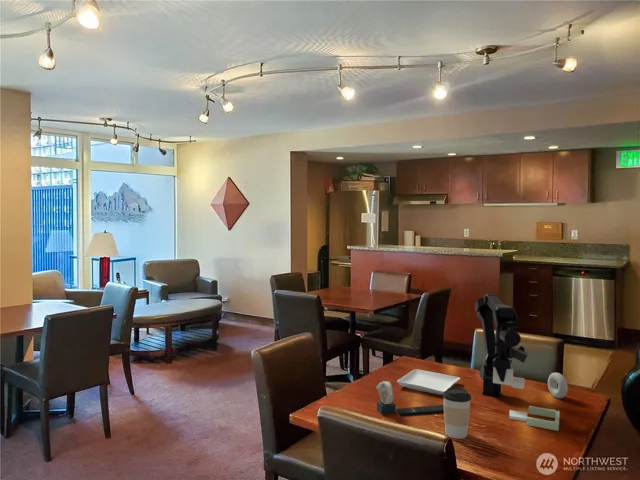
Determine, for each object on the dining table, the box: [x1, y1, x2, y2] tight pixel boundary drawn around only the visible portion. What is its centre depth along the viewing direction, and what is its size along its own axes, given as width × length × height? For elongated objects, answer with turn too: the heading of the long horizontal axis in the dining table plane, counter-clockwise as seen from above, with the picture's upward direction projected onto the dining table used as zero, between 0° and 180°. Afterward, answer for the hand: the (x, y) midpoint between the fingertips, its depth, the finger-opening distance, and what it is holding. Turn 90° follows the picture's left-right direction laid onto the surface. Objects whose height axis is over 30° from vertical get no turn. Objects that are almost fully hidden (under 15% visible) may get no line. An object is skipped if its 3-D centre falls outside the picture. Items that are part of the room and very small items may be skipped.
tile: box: [508, 409, 529, 422], centre depth 177 cm, size 6×6×2 cm
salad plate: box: [396, 368, 461, 396], centre depth 209 cm, size 21×21×3 cm
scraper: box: [493, 367, 526, 390], centre depth 185 cm, size 11×7×6 cm, turn 66°
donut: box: [547, 372, 569, 399], centre depth 196 cm, size 10×4×10 cm, turn 10°
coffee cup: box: [442, 386, 472, 440], centre depth 162 cm, size 9×9×15 cm
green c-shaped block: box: [525, 405, 560, 432], centre depth 173 cm, size 10×12×2 cm
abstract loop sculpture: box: [376, 380, 397, 415], centre depth 181 cm, size 6×8×11 cm
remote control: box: [395, 404, 444, 417], centre depth 182 cm, size 5×24×1 cm, turn 102°
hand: (502, 380), depth 186 cm, fingers closed on scraper, 2 cm apart
